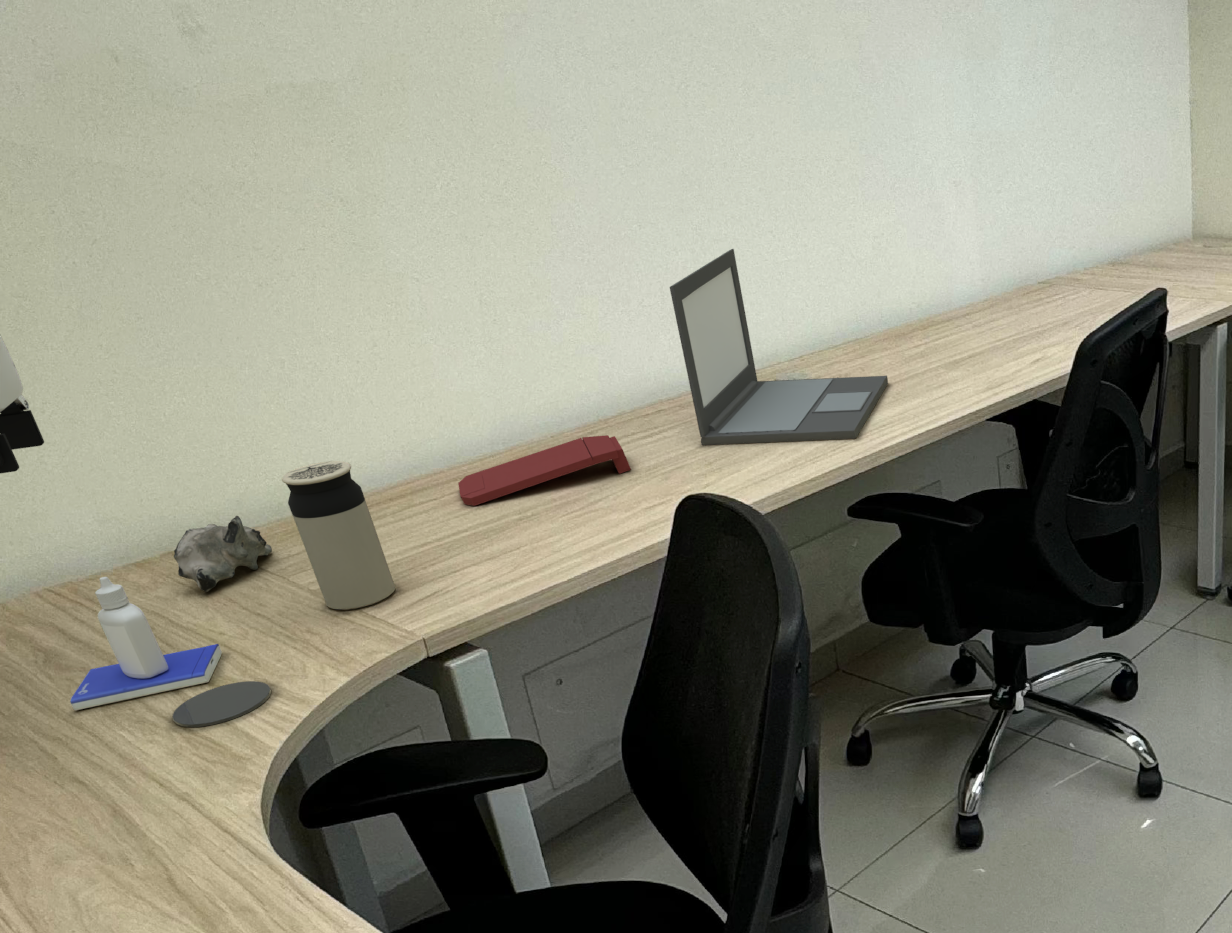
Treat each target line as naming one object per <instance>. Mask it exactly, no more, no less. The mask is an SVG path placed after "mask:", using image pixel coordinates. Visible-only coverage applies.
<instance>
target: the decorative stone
mask: <svg viewBox="0 0 1232 933" xmlns="http://www.w3.org/2000/svg"><path fill="white" fill-rule="evenodd" d="M234 516H235V517H233V518H232V519H231V520H230V521H229V522H228V524H227V526H225V525H217V524H215V523H209V524H207V525H206V526H204V527H196V528H189V529H186V531H185V532H184V534H183V535H182V537H181V539H179V541H178V543H177V545H176V547H175V548H174V550H173V552H174V554H173V559H174V560H175V561H176V563H177V565H178V571H177V572H178V573H177V574H178V576H179V577H182V578H184V579H188V580H193V581H194V582H195V583H196V585H197V587H198V589H199V590H200V591H203V592H205V593H208V592H210V591H211V590H212V589H213V588H215V587H216V586H217V584H218V582H220V581H222V580H225V579H232V578H233V577H234V576H235V573H236V572H235V570H236V568H237V567H239V566H240V567H242V566H243V567H246V568H248V569H250V570H252V571H253V570H258V569H259V565H258V563H257V560H258V557H268V556H269V554H271V553H272V552H273V549H272V545H271V544H267V541H266V539H265V538H264V537H263V536H262V534H261V531H260V530H257V529H255V528H252V527H250V526H245V525H244V524H243V521H242V519H241V517H240V516H239V515H234Z"/></svg>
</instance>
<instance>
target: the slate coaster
mask: <svg viewBox="0 0 1232 933" xmlns="http://www.w3.org/2000/svg"><path fill="white" fill-rule="evenodd" d="M271 695H272V690H271V687H270V685H269V684H267V683H266V682H263V681H258V680H257V681H256V680H247V681H238V682H233V683H227V684H224V685H220V686H216V687H214V688H210V689H208V690H205V691H203V692H201V693H198V694H196V695H194V696H192V697H190V698H189V699H186V700H185V701H184V702H182V703H181V704H180V705H179V706H177V707H176V709H174V711H173V713H172V720H173V722H174V724H176V725H177V726H178V727H179V726H180V727H184V728H203V727H209V726H214V725H218V724H222V723H225V722H229V721H231V720H234V719H237V718H239V717H242V716H245V715H246V714H249V713H250V712H252V711H254V710H256V709H257V708H259V707H261V706H262V705H263V704H264V703H266V702H267V700H268V699H269V698H270V697H271Z"/></svg>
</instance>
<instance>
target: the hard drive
mask: <svg viewBox="0 0 1232 933" xmlns="http://www.w3.org/2000/svg"><path fill="white" fill-rule="evenodd" d="M222 655H223V650H222V649H221V646H220V644H219V643H215V644H210V645H206V646H202V647H195V648H191V649H185V650H181V651H176V652H171V653H170V652H169V653H166V654H163V656H164V658H165V660H166V662H167V665H168V670H167V671H165V672H163V673H161V674H158V675H156V676H154V677H151V678H146V679H139V678H132V677H129V676H127V675H125V674H124V673H123V671H122V669H121V667H120V665H119V663H115V664H110V665H105V666H99V667H95V668H91V669H89V670H88V672H87V674H86V675H85V676H84V678H83V680H82V681H81V683H80V684H79V686H78V687H77V689H76V690H75V692H74V693H73V695H72V696H71V698H70V705H71V707H72V709H73V711H79V710H83V709H88V708H93V707H98V706H104V705H108V704H113V703H117V702H122V701H127V700H131V699H135V698H140V697H145V696H150V695H154V694H158V693H164V692H168V691H173V690H177V689H178V690H179V689H182V688H187V687H193V686H196V685H200V684H201V685H202V684H205V683H206V684H207V683H209V682H210V680H211V678H212V676H213V673H214V672H215V669H216V667H217V666H218V663H219V661H220V659H221V657H222Z"/></svg>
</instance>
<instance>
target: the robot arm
mask: <svg viewBox="0 0 1232 933" xmlns="http://www.w3.org/2000/svg"><path fill="white" fill-rule="evenodd" d="M23 391H24V386H23V383H22V380H21V377H20V375H19V372H18V370H17V367H16V365H15V362H14V360H13V357H12V355H11V354H10V352H9V350H8V347H7V346H6V343H5V341H4V339H3V337H2V335H1V334H0V474H7V473H14V472H17V471H18V470H19V469H20V465H19V462H18V460H17V458H16V456H15V454H14V451H13V450H21V449H27V448H35V447H41V446H43V445H44V443H45V440H44V437H43V435H42V433H41V430H40V428H39V426H38V423H37V422H36V419H35V417H34V414H33V412H32V410H31V409H30V405H29V401H28V400H27V399H26V397H24V396H23Z"/></svg>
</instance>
